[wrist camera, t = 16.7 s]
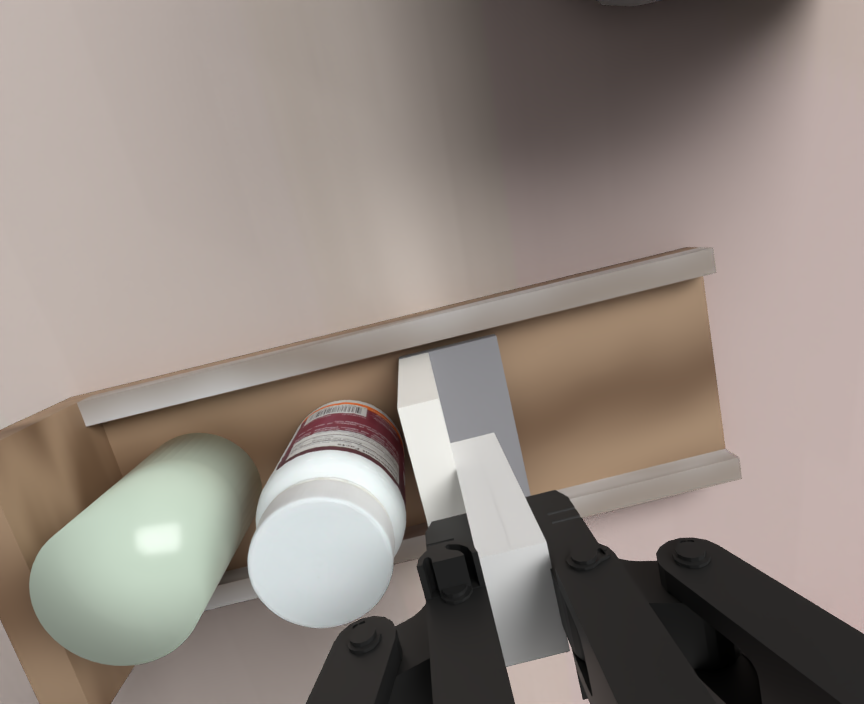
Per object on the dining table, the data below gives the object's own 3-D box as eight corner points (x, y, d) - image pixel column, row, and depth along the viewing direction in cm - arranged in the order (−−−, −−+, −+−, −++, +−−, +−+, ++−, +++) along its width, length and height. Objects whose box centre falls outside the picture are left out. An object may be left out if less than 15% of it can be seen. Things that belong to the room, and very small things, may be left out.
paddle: (398, 356, 22) (397, 408, 15) (494, 333, 22) (535, 374, 15) (439, 514, 23) (454, 626, 17) (528, 492, 23) (580, 595, 17)
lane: (70, 397, 23) (-73, 463, 16) (686, 247, 23) (807, 249, 16) (150, 599, 25) (53, 734, 18) (715, 460, 25) (833, 542, 18)
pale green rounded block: (124, 449, 22) (2, 539, 16) (241, 420, 22) (171, 498, 16) (164, 554, 23) (66, 682, 17) (276, 526, 23) (224, 643, 17)
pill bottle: (367, 521, 24) (348, 669, 15) (272, 466, 23) (199, 592, 15) (427, 434, 23) (440, 540, 15) (331, 375, 22) (288, 453, 14)
